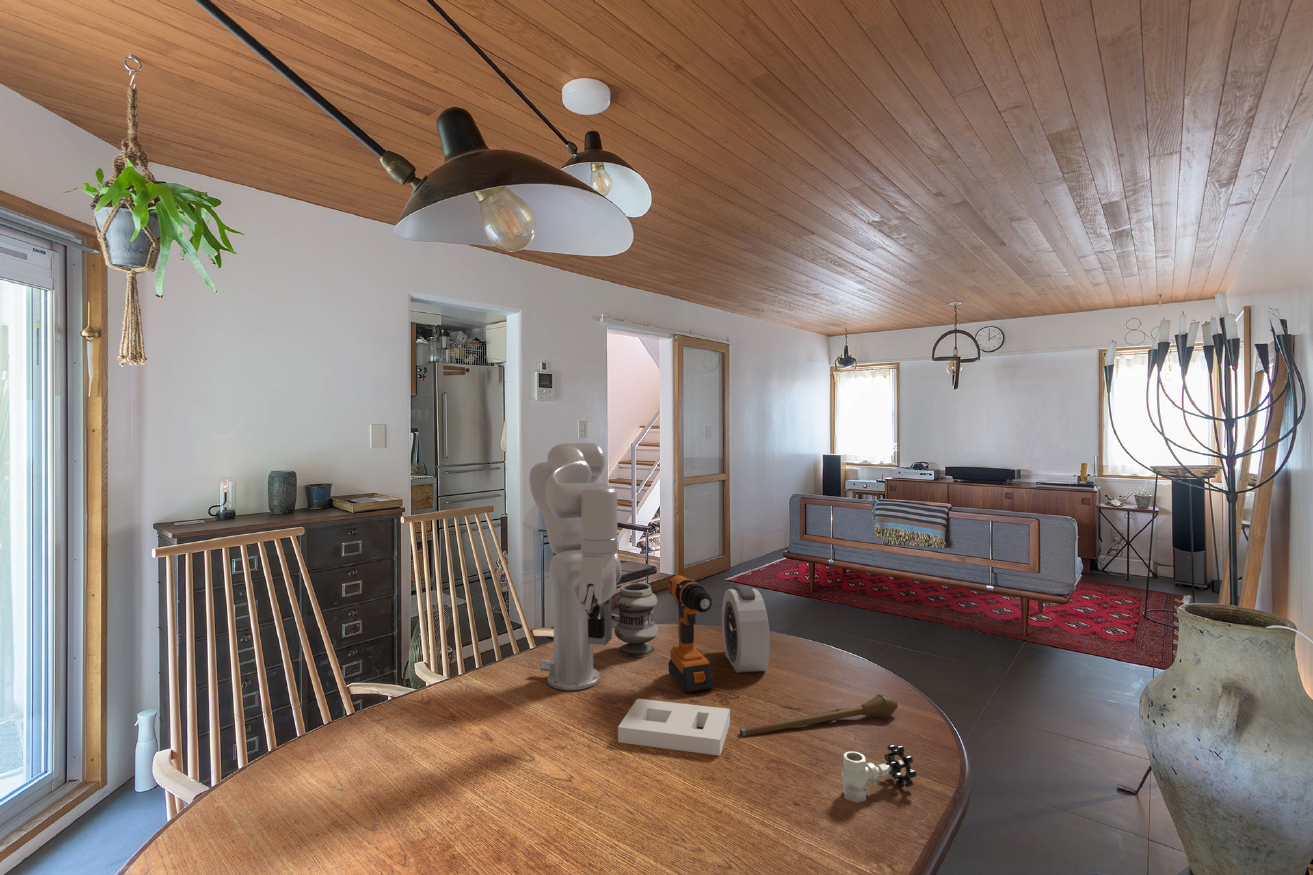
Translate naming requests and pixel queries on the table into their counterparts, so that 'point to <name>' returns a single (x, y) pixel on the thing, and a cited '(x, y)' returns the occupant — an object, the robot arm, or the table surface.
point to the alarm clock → (745, 629)
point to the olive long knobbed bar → (830, 716)
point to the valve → (873, 772)
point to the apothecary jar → (636, 619)
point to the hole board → (675, 726)
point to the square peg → (607, 624)
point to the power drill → (689, 636)
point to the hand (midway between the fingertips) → (599, 633)
